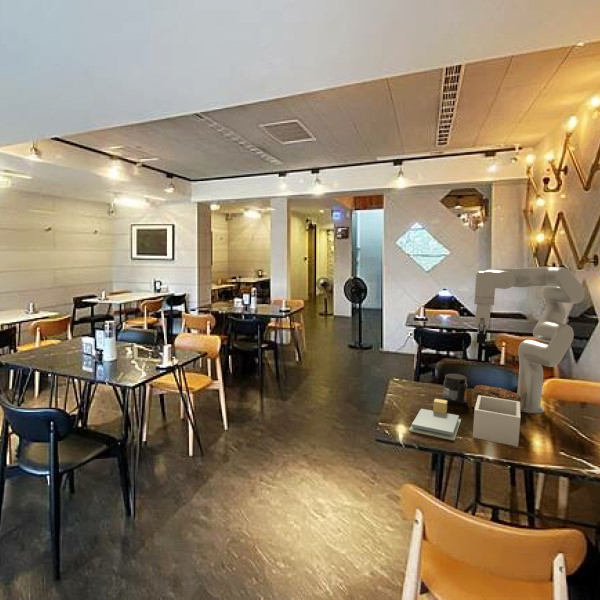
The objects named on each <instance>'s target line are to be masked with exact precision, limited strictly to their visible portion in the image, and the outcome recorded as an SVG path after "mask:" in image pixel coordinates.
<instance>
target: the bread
mask: <svg viewBox="0 0 600 600" xmlns="http://www.w3.org/2000/svg"><path fill="white" fill-rule="evenodd" d="M472 389H473V390H472V393H471V407H472V408H474V409H475V406H476V402H477V398H478V395H481V396H487V397H493V398H500V399H506V400H512V401H519V402H520V401H521V397H520V396H519V395H518V394H517V392H513V391H511V390H507V389H505V388H502V387H497V386H487V385H484V384H478V385H475V386H474V387H473V388H472Z"/></svg>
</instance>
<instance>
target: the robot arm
mask: <svg viewBox="0 0 600 600" xmlns="http://www.w3.org/2000/svg"><path fill="white" fill-rule="evenodd" d="M474 286H475V288H474V305H476V309H475V322H474V328H475V329H477V332H476V344H482V345H485V344H486V340H487V338H488V328H489V324H490V317H491V308H492V306H495V297H496V295H495V294H496V289H499V290H508V289H510V288H512V287H514V288H535V287H543V290H542V295H543V298H544V304H545V306H544V307H545V309H544V311H543V313H542V314H541V316H540V317H539V320H538V321H537V323H536V325H535V326H534V327H533V330H532V335H533V338H535V339H536V340H535V339H525V340H523V341H521V342H520V344H519V345H518V351H517V354H518V363H519V365H518V366H519V371H518V381H517V382H518V383H517V392H516V393H517V394H518V395H519V396H520V397H521V401H520V412H523V413H526V414H535V415H536V414H543V413H544V412H545V408H544V407H543V406H542V404H541V403H542V395H543V394H542V393H543V381H544V370H543V369H544V368H543V366H545V367H550V368H551V367H552V368H553V367H556V366H557V365H559V364H560V363H561V362H562V359H563V358H564V356H565V354H566V353H567V351H568V349H569V348H570V346H571V345H572V342H573V340H574V336H575V333H574V329H573V327H572V326H571V325H569V324H566V323H563V322H564V321H565V318H566V317H567V316H566V315H567V314H566V310H565V307H564V304H563V303H565V304H572V305H573V304H579V303H581V302H583V300H584V299H585V295H586V292H585V289H584V287H583V285H582V284H581V282H580V281H579V280H578V279H577V277H575V275H574V274H573V273H572V272H571V271H570V270H569V269H567V268H566V267H563V266H560V267H559V266H535V267H520V268H519V267H517V268H498V269H487V270H480V271H477V272H476V274H475V285H474Z"/></svg>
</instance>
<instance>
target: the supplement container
mask: <svg viewBox="0 0 600 600" xmlns="http://www.w3.org/2000/svg"><path fill="white" fill-rule="evenodd" d="M467 388H468V384H467V377H466V376H465V375H463V374H460V373H459V374H458V373H447V374H445V375H444V381H443V391H442V392H443V393H442V400H447V404H448V403H449V404H454V405H462V404H465V403H466V402H467V390H468V389H467Z"/></svg>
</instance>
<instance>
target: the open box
mask: <svg viewBox="0 0 600 600" xmlns="http://www.w3.org/2000/svg"><path fill="white" fill-rule="evenodd" d="M520 427H521V411H520V402H519V401H512V400H506V399H500V398H493V397H487V396H481V395H478V398H477V402H476V406H475V408H474V412H473V427H472V438H473V439H480V440H484V441H489V442H494V443H499V444H503V445H509V446H513V447H519V442H520V430H521V429H520Z"/></svg>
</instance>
